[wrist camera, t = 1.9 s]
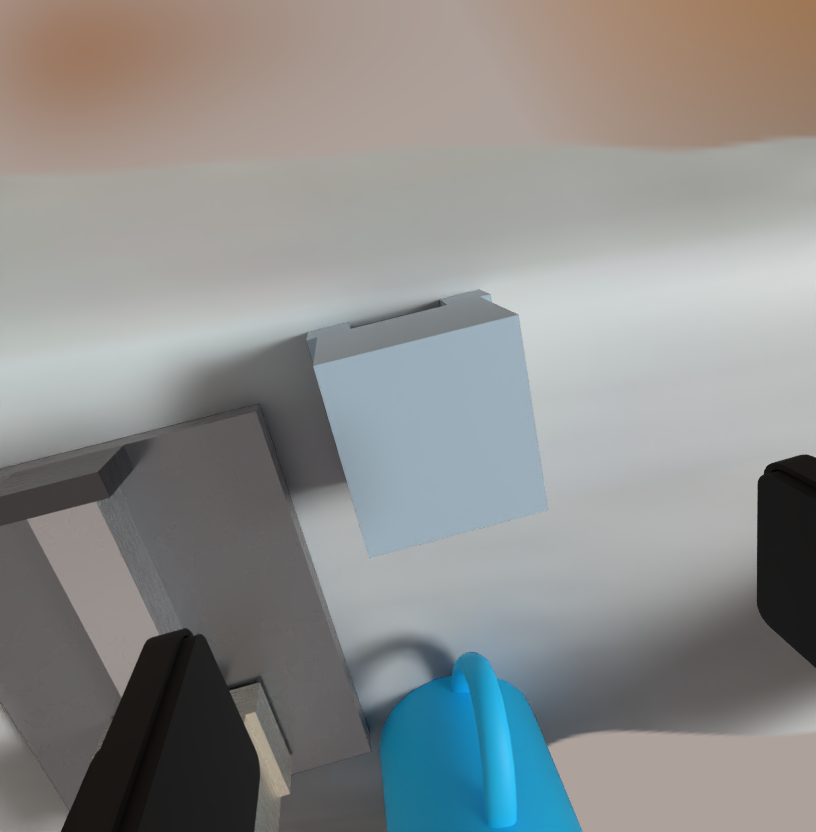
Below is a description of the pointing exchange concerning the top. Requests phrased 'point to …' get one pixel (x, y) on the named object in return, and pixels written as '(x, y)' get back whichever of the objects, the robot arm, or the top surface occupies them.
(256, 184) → the top surface
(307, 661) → the rail plate
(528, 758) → the mug
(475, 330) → the block
